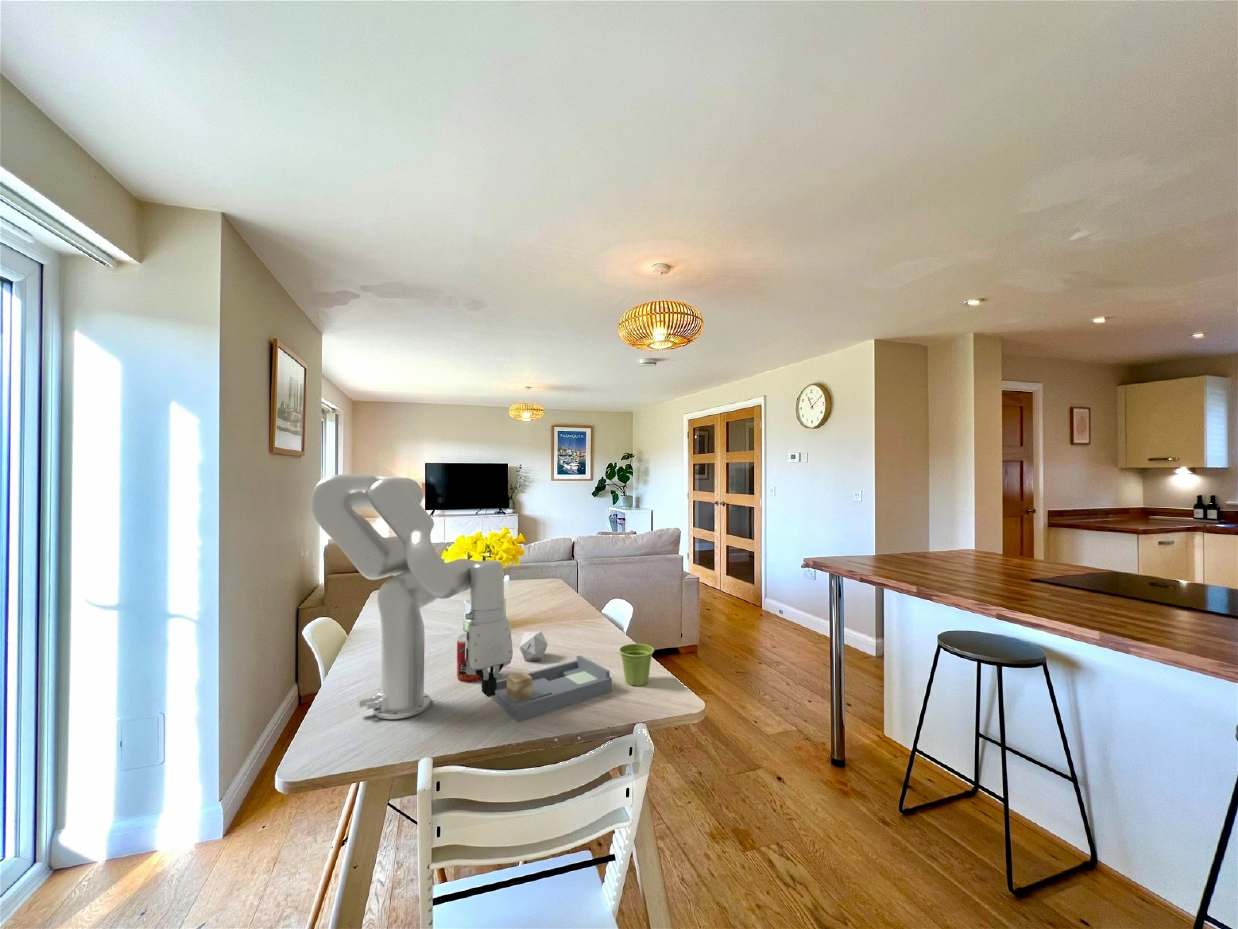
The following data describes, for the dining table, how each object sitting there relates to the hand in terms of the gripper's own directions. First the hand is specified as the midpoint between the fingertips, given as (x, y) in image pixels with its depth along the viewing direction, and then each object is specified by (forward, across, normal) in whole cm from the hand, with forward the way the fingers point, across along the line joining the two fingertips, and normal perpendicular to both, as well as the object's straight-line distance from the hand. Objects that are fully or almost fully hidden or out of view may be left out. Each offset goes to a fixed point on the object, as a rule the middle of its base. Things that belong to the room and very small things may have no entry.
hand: (489, 694), depth 116 cm
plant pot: (+6, +39, -6) cm, 40 cm away
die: (+5, +25, +26) cm, 36 cm away
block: (+3, +8, +1) cm, 8 cm away
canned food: (+4, +5, +24) cm, 25 cm away
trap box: (+5, +17, +1) cm, 18 cm away
